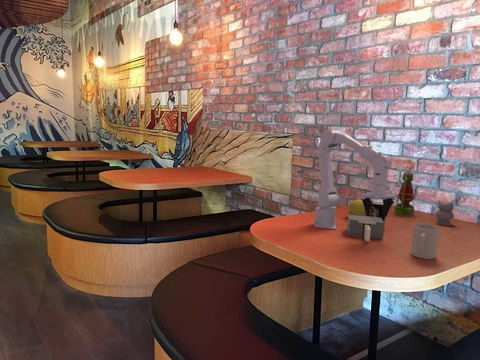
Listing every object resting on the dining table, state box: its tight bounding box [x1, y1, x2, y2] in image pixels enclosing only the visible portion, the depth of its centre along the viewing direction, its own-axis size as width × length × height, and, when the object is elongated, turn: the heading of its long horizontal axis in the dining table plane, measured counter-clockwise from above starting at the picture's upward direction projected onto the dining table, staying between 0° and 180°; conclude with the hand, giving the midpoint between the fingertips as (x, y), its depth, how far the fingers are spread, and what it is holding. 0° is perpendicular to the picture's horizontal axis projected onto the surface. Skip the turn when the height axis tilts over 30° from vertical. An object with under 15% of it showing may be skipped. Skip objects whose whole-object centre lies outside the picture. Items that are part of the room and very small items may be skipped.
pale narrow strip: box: [362, 224, 371, 242], centre depth 165 cm, size 2×12×5 cm, turn 169°
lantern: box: [393, 159, 415, 217], centre depth 217 cm, size 14×11×30 cm
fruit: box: [347, 199, 366, 216], centre depth 201 cm, size 10×11×10 cm
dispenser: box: [346, 214, 386, 240], centre depth 171 cm, size 14×11×7 cm
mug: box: [410, 223, 440, 260], centre depth 144 cm, size 12×8×11 cm
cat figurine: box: [435, 199, 455, 226], centre depth 200 cm, size 8×8×12 cm
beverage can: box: [370, 201, 386, 223], centre depth 183 cm, size 7×7×12 cm
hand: (376, 216), depth 164 cm, fingers open, 7 cm apart
